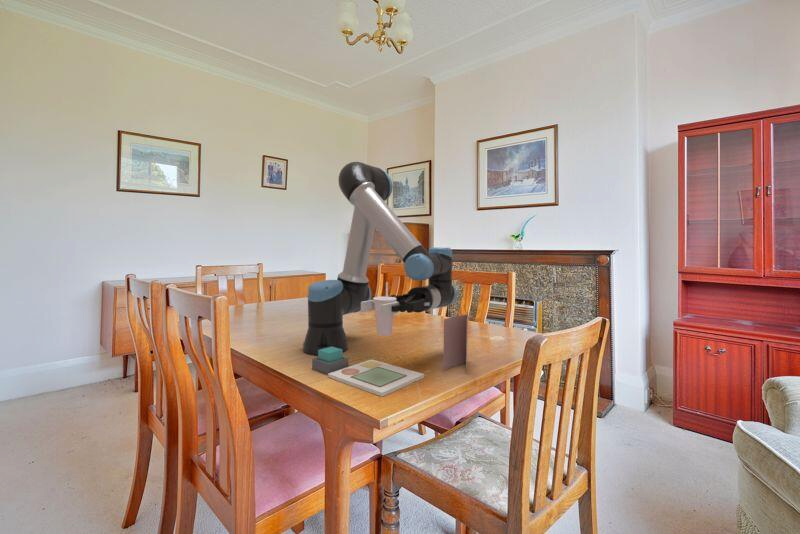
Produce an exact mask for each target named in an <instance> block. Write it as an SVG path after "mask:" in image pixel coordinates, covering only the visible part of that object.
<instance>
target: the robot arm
mask: <svg viewBox="0 0 800 534" xmlns="http://www.w3.org/2000/svg"><path fill="white" fill-rule="evenodd" d="M338 187H339V189H340V191H341V193H342V194H343V196H344V197H345V199H346V200H348V202H349V203H350V204H351V205H353V208H354V209H353V212H352V213H353V214H352V218H351V223H350V230H349V236H348V241H347V247H346V251H345V252H346V253H345V256H344V257H345V258H344V263H343V267H342V269H343V270H342V272H339V273H338V274H337V279H326V280H318V281H315V282H312V283H311V284H310V285H309V286H308V288H307V289H308V291H307V292H308V293H307V313H308V314H307V320H308V321H307V322H308V324H307V325H308V328H307V331H306V334H305V337H304V341H303V344H302V347H303V348H302V351H303V352H304V353H306V354H308V355H313V356H314V355H316V356H318V350H320V349H324V348H328V347H331V346H332V347H335V348H339V349H343V353H344V352H346V351H348V349H349V341H348V338H347V335H346V332H345V329H344V320H343V319H344V317H343V316H345V315H348V314H353V313H357V312H360V313H366V312H367V313H368V312H371V311H375V307H374V302H373V298H374V297H372V289H371V288H370V285H369V282H370V280H369V278H368V276H367V270H368V266H369V265H368V264H369V260H370V256H371V255H370V254H371V249H372V244H373V238H374V234H375V230H377V232H378V234H380V235H381V237H382V238H383V239H384V241H385V242H386V243H387V244H388V246H390V248H391V249H392V250H393V252H394V253H395V255H396V256H398V257H399V259H400V260H401V261H402V262H403V263H404V271H405V274H406V276H407V277H408V278H410V279H411V280H414V281H427V280H428V285H424V286H423V285H421V286H417V287H412V288H410V289H409V291H408V292H407V293H404V294H400V295H399V294H398V295H397V294H391V295H388V297H395V298H396V299H397V300H396V301H397V302H393V303H388V304H382V305H381V316H384V315H389V314H393V313H394V314H398V313H400V312H401V313H405V312H407V313H408V314H411V313H416V314H417V313H424V312H430V310H435V309H439V308H445V307H448V306H450V305H453V304H454V303H455V302H456V301H457V299H458V290H457V288H456V286H455V285H454V284H453V260H454V258H453V249H452V248H451V247H441V246H440V247H435V246H434V247H430V248H429V251H427V249H426V248H425V247H424V246H423V245H422V244H421V242H420V241H419V240H418V238H416V236H415V235H414V234H413V233H412V232H411V231H410V229H408V227H407V226H406V225H405V224H404V222H403V221H402V220H401V219H400V218H399V216H397V214H396V213H395V211H393V210H392V209H391V207H390V206H389V205H388V204H387V203H386V201H387V200H388V199H389V198H390V197H391V195H392V193H393V189H394V188H393V181H392V178H391V176H390V175H389V173H388V172H386V170H383V169H381V168H380V167H376V166H373V165H370V164H366V163H364V162H361V161H351V162H349V163H346V164H345V165H344V166H343V167H342V168H341V170H340V172H339V174H338ZM383 297H386V295H384V296H383Z"/></svg>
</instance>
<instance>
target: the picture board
mask: <svg viewBox="0 0 800 534" xmlns="http://www.w3.org/2000/svg"><path fill="white" fill-rule="evenodd" d="M329 377H330V378H329ZM327 378H329V379H331V378H332V379H333V380H334V379H335V380H334V381H337V382H340V383H343V384H346V385H349V386H351V387H354V388H357V389H359V390H363V391H364V392H368V393H371V394H373V395H376V396H379V397H381V398H383V397H385V396H388V395H389V394H392V393H394V392H396V391H397V390H400V389H402V388H405V387H407V386H409V385H412V384H414V383H416V382H417V381H419V380H423V379H424V378H425V374H424V373H422V372H417V371H415V370H411V369H407V368H404V367H402V366H401V367H400V366H398V365H394V364H389V363H386V362H383V361H379V360H376V359H372V358H370V359H368V360H365V361H362V362H359V363H356V364H353V365H351V366H349V367H347V368H344V369H341V370H338V371H335V372H332V373H329V374H327ZM415 381H416V382H415ZM413 382H414V383H413Z"/></svg>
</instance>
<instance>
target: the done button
mask: <svg viewBox="0 0 800 534" xmlns="http://www.w3.org/2000/svg"><path fill="white" fill-rule="evenodd" d="M343 355H344V352H343V349H339V348H335V347H332V346H331V347H328V348H324V349H320V350H318V355H317V357H318V360H321V361H324V362H327V363H331V362H334V361H337V360H341V359H343V357H344V356H343Z"/></svg>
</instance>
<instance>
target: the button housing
mask: <svg viewBox="0 0 800 534" xmlns="http://www.w3.org/2000/svg"><path fill="white" fill-rule="evenodd" d="M311 362H312V363H311V365H312V367H311V368H312V370H313V369H314V371H316V370H317V372H319V371H320V372H319V373H322V372H323V373H322V374H325V373H326V374H325V375H328V374H329V373H332V372H335V371H338V370H341V369H344V368H347V367H350V366H349V365H350V364H349V362H350V361H349V357H346V356H343V359H341V360H337V361H334V362H331V363H327V362H324V361H321V360H318V356H317V357H314V358H312V360H311Z"/></svg>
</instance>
